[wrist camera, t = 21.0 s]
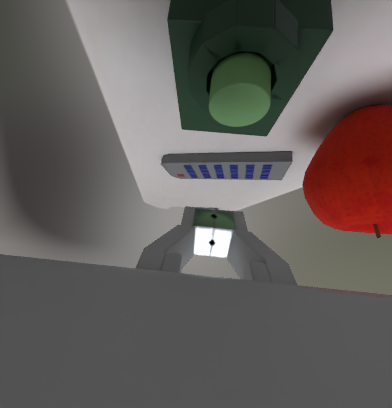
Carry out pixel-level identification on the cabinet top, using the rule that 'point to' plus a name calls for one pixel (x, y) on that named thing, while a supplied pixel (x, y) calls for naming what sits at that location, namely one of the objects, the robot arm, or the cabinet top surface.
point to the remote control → (228, 165)
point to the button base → (243, 50)
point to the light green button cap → (240, 90)
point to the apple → (354, 173)
